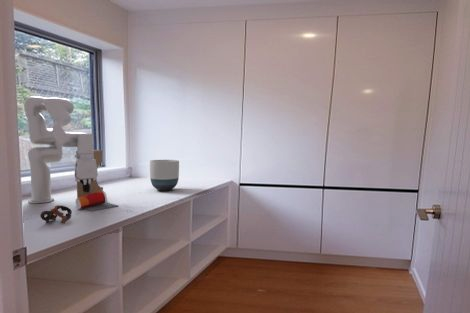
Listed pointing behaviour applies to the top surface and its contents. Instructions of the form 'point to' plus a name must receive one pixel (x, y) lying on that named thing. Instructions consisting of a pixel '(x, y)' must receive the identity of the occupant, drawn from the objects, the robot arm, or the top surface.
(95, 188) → the decorative block
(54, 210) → the brown looped knot sculpture
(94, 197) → the paper cup
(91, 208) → the mat
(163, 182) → the planter
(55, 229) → the top surface
